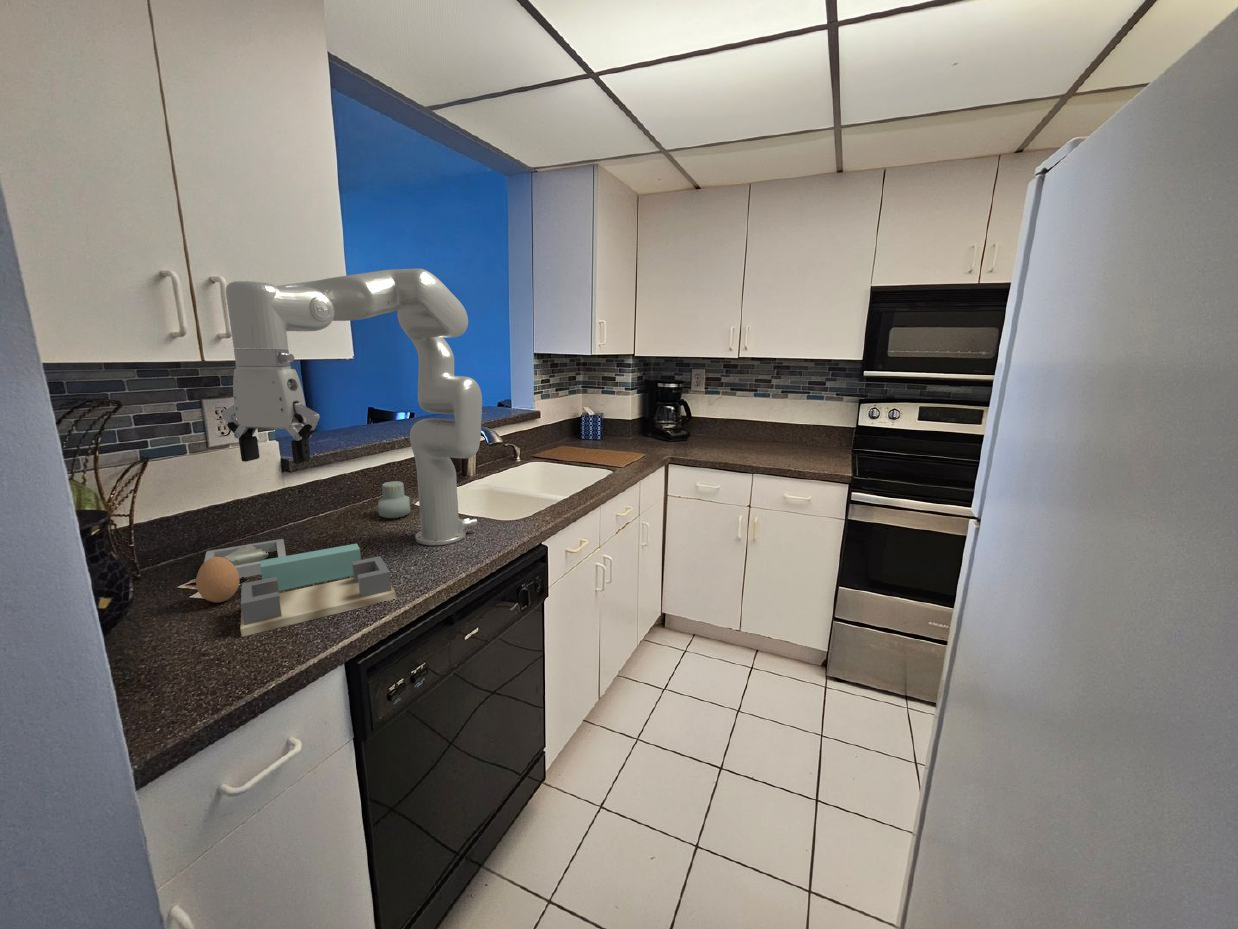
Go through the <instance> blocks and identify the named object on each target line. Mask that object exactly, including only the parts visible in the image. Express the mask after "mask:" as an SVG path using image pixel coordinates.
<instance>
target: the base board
mask: <svg viewBox="0 0 1238 929" xmlns="http://www.w3.org/2000/svg"><path fill="white" fill-rule="evenodd" d="M279 595H280V607H281V614H282V616H281V617H277V618H273V619H268V620H264V621H260V622H256V623H251V624H247V625H244V621H243V615H242V609H241V611H240V612H241V613H240V634H241V637H242V638H243V637H247V636H252V635H256V634H260V633H264V632H267V631H268V632H269V631H271V630H277V629H280V628H284V627H288V626H291V625H296V624H300V623H301V624H302V623H304V622H308V621H311V620H312V621H313V620H317V619H322V618H325V617H328V616H329V617H330V616H333V615H337V614H340V613H344V612H350V611H354V610H356V609H361V608H365V607H370V606H373V605H378V604H381V603H380V602H382V603H385V602H384V601H386V602H389V601H390V602H391V601H394V600H393V599H395V600H397V594H396V590H395V588H394V587H393V586H392V584H391V591H387V592H383V593H379V594H375V595H370V596H366V597H362V598H361V596H360V593H359V584H358V583H355V582H354V579H353V577H349V578H346V579H345V578H344V579H340V580H336V581H335V580H334V581H330V582H327V583H326V582H324V583H321V584H317V585H312V586H307V587H303V588H298V589H293V590H289V591H284V592H279ZM377 603H378V604H377Z"/></svg>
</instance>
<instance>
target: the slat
mask: <svg viewBox="0 0 1238 929" xmlns="http://www.w3.org/2000/svg"><path fill="white" fill-rule="evenodd" d="M361 556H362V555H361V549H360V547H359V545H358V543H351V544H346V545H340V546H336V547H329V548H324V549H319V550H314V551H313V550H311V551H307V552H301V553H297V554H291V555H290V554H289V555H286V556H284V557H278V556H277V557H273V558H268V559H267V558H266V559H264V560H261V573H262V574H261V580H262V579H268V578H273V577H277V581H278V588H279V592H280V591H285V590H291V589H294V588H299V587H304V586H305V587H306V586H309V585H315V584H319V583H325V582H328V581H333V580H334V581H335V580H338V579H343V578H347V577H353V570H352V562H353V561H358V560H362V557H361Z"/></svg>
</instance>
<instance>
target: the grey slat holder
mask: <svg viewBox="0 0 1238 929" xmlns="http://www.w3.org/2000/svg"><path fill="white" fill-rule="evenodd" d="M352 570H353V576H352V578H353V579H354V582H355V583H358V584H359V593H360V596H361V598H362V597H366V596H370V595H375V594H379V593H383V592H387V591H391V585H392V582H391V573H390V570H389V568H388V567H387V565H386V563H385V562H384V560H383V558H382V557H381V555H379V556H373V557H369V558H364V559H361V560H358V561H353V562H352ZM279 593H280V591H279V588H278V581H277V577H273V578H268V579H262V578H261V579H259V580H253V581H252V580H251V581H247V582H244V583H241V592H240V594H241V595H240V596H241V597H240V608H241V609H242V615H243V621H244V625H247V624H251V623H256V622H260V621H264V620H268V619H273V618H277V617H281V616H282V614H281V607H280V595H279Z"/></svg>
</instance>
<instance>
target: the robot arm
mask: <svg viewBox="0 0 1238 929" xmlns="http://www.w3.org/2000/svg"><path fill="white" fill-rule="evenodd" d="M225 296H226V304H227V305H226V306H227V311H228V320H229V324H230V332H231V339H232V343H233V344H232V345H233V352H234V353H233V354H234V361H235V367H236V368H234V370H233V378H232V379H233V380H232V383H233V384H232V388H233V390H232V392H233V394H232V396H233V405H231V406H230V407H228V408H226V409H224V410H223V411H222V412H221V417H222V418H223V420H224V422H225V423H226V425H227V428H228V429H229V430H230V431H231V432H232V433H233V436H234V438H235V439H237V440H238V444H239V451H240V459H241V461H242V462H251V461H254V460H255V461H256V460H259V459H260V449H259V442H258V438H257V437H258V436H256V435H254V434H255V433H256V431H257V429H258V430H259V429H261V430H262V429H265V430H266V429H267V430H285V431H286V432H288V434H289V435H290V436H291V437H292V438H293V439H294V440H291V442H290V444H291V451H292V459H293V463H294V464H296V465H297V464H298V465H300V464H303V463H306V462H310V461H311V454H310V452H311V451H310V443H309V439H311V438H312V437H313V436H312V434H313V433H314V432H315V431H316V430H317V425H318V423H319V421H320V417H321V415H320V414H319V413H318V412H316V411H315V410H312V409H311V408H309V407H308V406H306V400H305V396H304V391H303V387H302V383H301V381H300V378H299V375H298V372H297V371H296V369H295V368H292V367H291V363H293V362H294V361H295V356H294V354H292V353H290V351H289V343H288V342H289V341H288V334H287V333H288V332H317V331H321V330H323V329H325V328H327V327H329V326H330V325H331V324H332V322H346V321H349V322H351V321H359V320H365V319H369V318H373V317H377V316H379V315H380V316H381V315H383V314H384V315H385V314H389V313H393V312H397V319H398V322H399V326H400V327H401V329H402V331H403V332H404V333H405V334H406V335H407V337H408V338H409V339H410V341H411V342H412V344H413V345H414V347H415V350H416V352H417V356H418V357H417V358H418V377H417V402H418V405H419V407H420V408H421V410H423V411H425V412H428V413H433V414H442V415H443V414H444V415H445V414H446V415H454V419H447V418H423V419H421V420H418V421H417V422H415V423H414V424H413V425H412V426H411V428H410V431H409V442H410V446H411V449H412V453H413V457H414V460H415V461H414V462H415V466H416V476H417V477H416V478H417V491H418V492H417V493H418V504H419V505H418V506H419V516H420V531H418V532H417V533H416V534H415V538H414V539H415V541H416V543H418V544H421V545H425V546H444V545H450V544H453V543H457V542H459V541H461V540H463V539H464V538H466V532H467V531H466V529H467V528H470V527H471V528H472V527H476V526H478V520H477V518H473V519H470V518H463V519H462V518H460V516H459V515H460V514H459V499H458V486H457V471H456V468H455V465H454V463H453V461H452V459H451V458H453V459H470V458H473V457H474V456H475V455H476V454H477V452H479V449H480V444H481V433H482V411H483V396H482V395H483V394H482V391H481V388H480V386H479V384H478V382H477V381H476V380H475V379H473V377H469V376H465V375H464V376H463V375H462V376H461V375H455V356H454V353H453V351H452V348H451V347H450V345H449V344H448V342H447V341H446V340H445V338H457V337H461V336H462V335H464V334H465V332H466V331H467V329H468V326H469V317H468V313H467V311H466V308H465V306H464V305H463V304H462V303H461V301H460V300H459V299H458V298H457V297H456V296H455V295H454V294H453V293H452V292H451V291H450V289H449V288H448V287H447V286H446V285H445V284H444V283H443V281H441V280H440V279H439V278H438V277H437V276H435V275H434V274H433V273H431V272H430V271H428V270H426V269H424V268H401V269H400V268H398V269H397V268H395V269H394V268H393V269H392V268H391V269H383V270H377V271H370V272H362V273H356V274H349V275H343V276H342V275H340V276H336V277H329V278H328V277H327V278H324V279H318V280H312V281H311V280H309V281H305V282H304V281H303V282H295V283H287V284H282V285H274V284H271V283H267V282H262V281H261V282H260V281H249V280H246V281H245V280H244V281H241V280H239V281H232V282H229V283H228V284H226V287H225Z"/></svg>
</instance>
